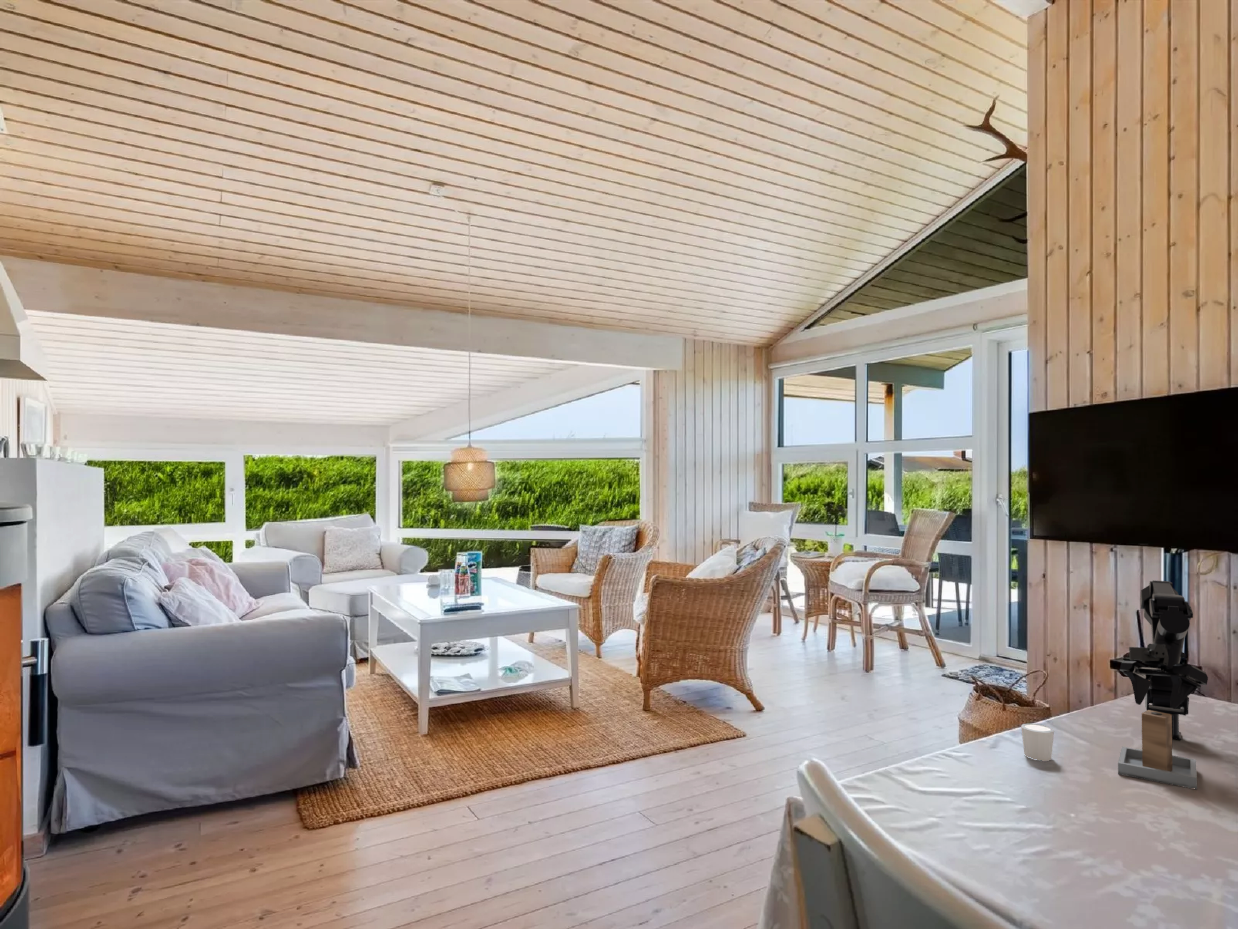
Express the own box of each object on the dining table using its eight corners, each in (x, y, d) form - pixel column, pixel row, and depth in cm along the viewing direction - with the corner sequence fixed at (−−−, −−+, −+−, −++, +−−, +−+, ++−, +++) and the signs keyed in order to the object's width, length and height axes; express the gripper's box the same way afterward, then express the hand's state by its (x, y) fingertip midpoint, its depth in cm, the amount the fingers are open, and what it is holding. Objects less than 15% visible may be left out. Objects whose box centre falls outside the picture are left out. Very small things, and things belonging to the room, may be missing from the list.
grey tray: (1122, 756, 178) (1122, 746, 178) (1196, 770, 170) (1195, 759, 170) (1118, 774, 167) (1117, 762, 167) (1196, 789, 159) (1196, 777, 159)
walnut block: (1148, 764, 172) (1148, 709, 172) (1172, 770, 168) (1171, 713, 169) (1142, 769, 169) (1141, 712, 169) (1166, 775, 165) (1165, 717, 166)
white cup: (1046, 752, 181) (1045, 723, 181) (1060, 762, 174) (1059, 732, 174) (1016, 751, 181) (1016, 722, 182) (1029, 761, 174) (1029, 731, 175)
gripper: (1108, 630, 190) (1094, 688, 186) (1176, 631, 172) (1162, 695, 168) (1144, 649, 191) (1131, 707, 187) (1215, 651, 173) (1202, 716, 169)
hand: (1154, 706), depth 178 cm, fingers open, 9 cm apart
